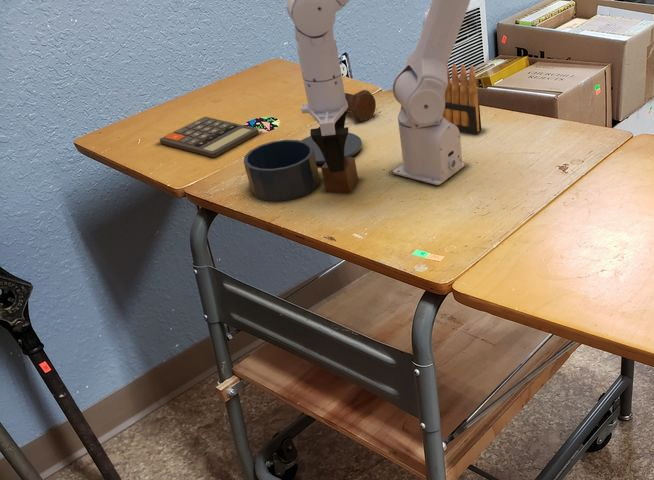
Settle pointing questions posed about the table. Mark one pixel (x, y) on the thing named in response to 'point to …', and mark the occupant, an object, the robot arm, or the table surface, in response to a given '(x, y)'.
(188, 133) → the calculator
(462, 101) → the ammunition clip
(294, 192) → the pot
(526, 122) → the table surface
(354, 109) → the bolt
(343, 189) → the block
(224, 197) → the table surface
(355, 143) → the lid
